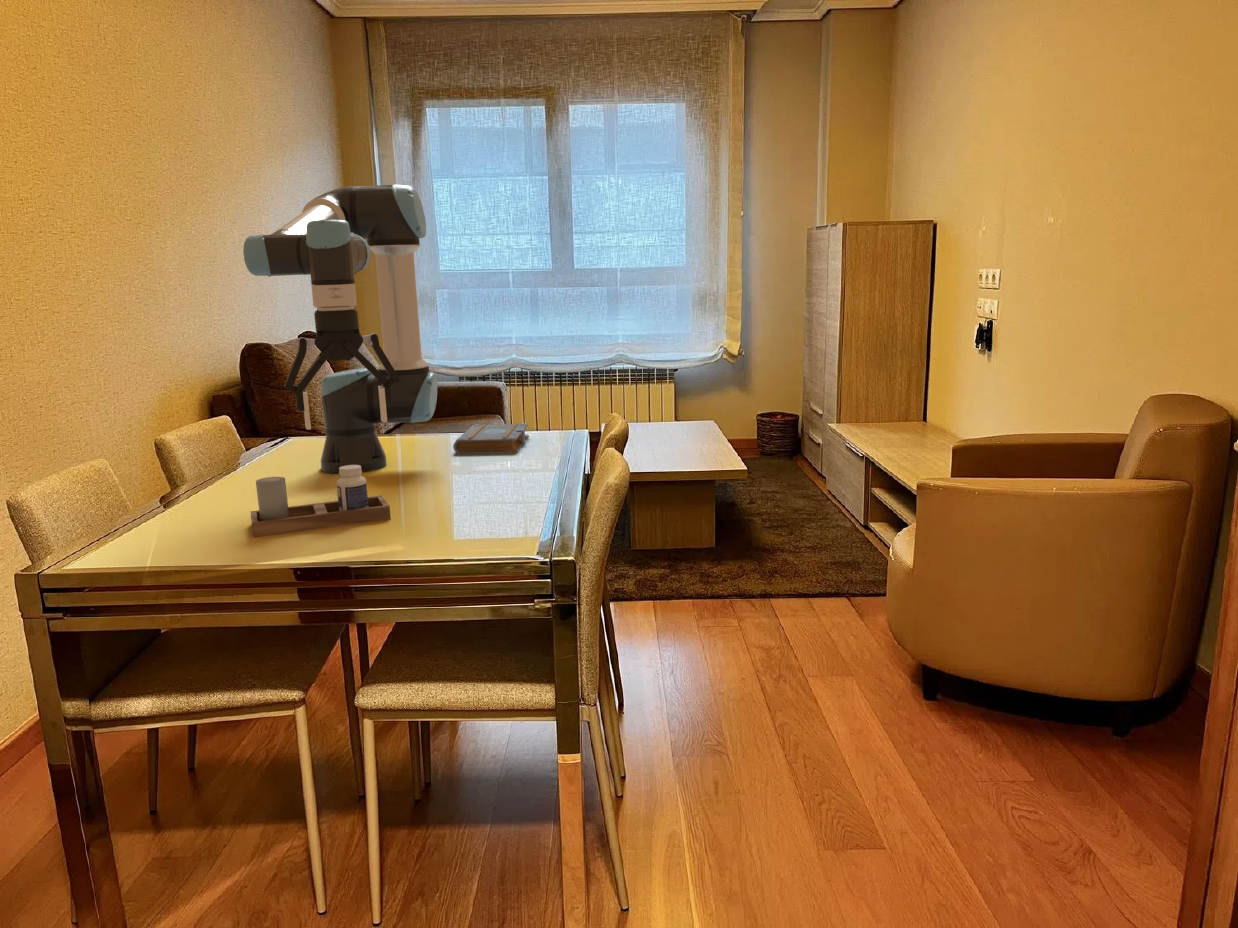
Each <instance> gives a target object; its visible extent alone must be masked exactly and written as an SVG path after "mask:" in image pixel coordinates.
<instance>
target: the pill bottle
mask: <svg viewBox="0 0 1238 928" xmlns="http://www.w3.org/2000/svg"><path fill="white" fill-rule="evenodd" d="M362 473H363V472H362V470H361V466H360V465H347V466H342V467H340V468H339V474H338V475H339V476H340V478H338V479H337V480H336V491H337V501H338V504H339V511H345V510H353V509H361V508H369V506H368V497H369V496H368V495H369V494H368V486H367V479H366V478H365V477H364V476H362Z"/></svg>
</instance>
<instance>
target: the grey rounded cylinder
mask: <svg viewBox="0 0 1238 928" xmlns="http://www.w3.org/2000/svg"><path fill="white" fill-rule="evenodd" d="M255 485H256V486H255V488H256V494H257V495H256V497H257V503H258V510H259V513H260V521H265V520H273V519H281V518H289V509H288V507H289V502H288V501H289V500H288V493H287V492H288V491H287V484H286V478H285V477H283V476H268V477H263V478H259V479H256V480H255Z"/></svg>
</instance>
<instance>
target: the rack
mask: <svg viewBox="0 0 1238 928" xmlns="http://www.w3.org/2000/svg"><path fill="white" fill-rule="evenodd" d="M368 506H369V508H361V509H353V510H345V511H339V504H338V500H335V501H325V502H318V503H316V502H315V503H309V504H300V505H291V506H288V509H289V518H281V519H273V520H265V521H260V513H259V509H258V510H251V511H250V520H251V521H250V522H251V529H252V537H253V538H259V537H267V536H274V535H275V536H276V535H283V534H290V533H291V534H292V533H298V532H305V531H312V530H320V529H328V528H329V529H330V528H335V527H342V526H350V525H358V524H367V523H374V522H381V521H387V520H388V521H389V520H391V518H392V517H391V507H390V505H389V503H388V502H387V500H386V499H385V497H384V496H383V495H374V496H368Z"/></svg>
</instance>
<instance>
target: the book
mask: <svg viewBox="0 0 1238 928" xmlns="http://www.w3.org/2000/svg"><path fill="white" fill-rule="evenodd" d="M528 426H529V423H517V422H516V423H508V424H507V423H502V424H497V423H496V424H486V423H483V424H477V423H476V424H473V425H471V426H470V427H469V428H468V429H467V430H465V432H463V434H461V435H460V436H459V437H458V438H457V439H456V440H455V442H454V443H453V450H454V452H455V454H456V455H478V454H479V455H485V454H486V455H487V454H491V455H492V454H496V455H497V454H518V452H519V451H520V450H521V448H522V447H523V446H526V442H527V440H528V439H529V437H530V436H529V434H525V433H526V431H525V430H526V429H527V427H528Z"/></svg>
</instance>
